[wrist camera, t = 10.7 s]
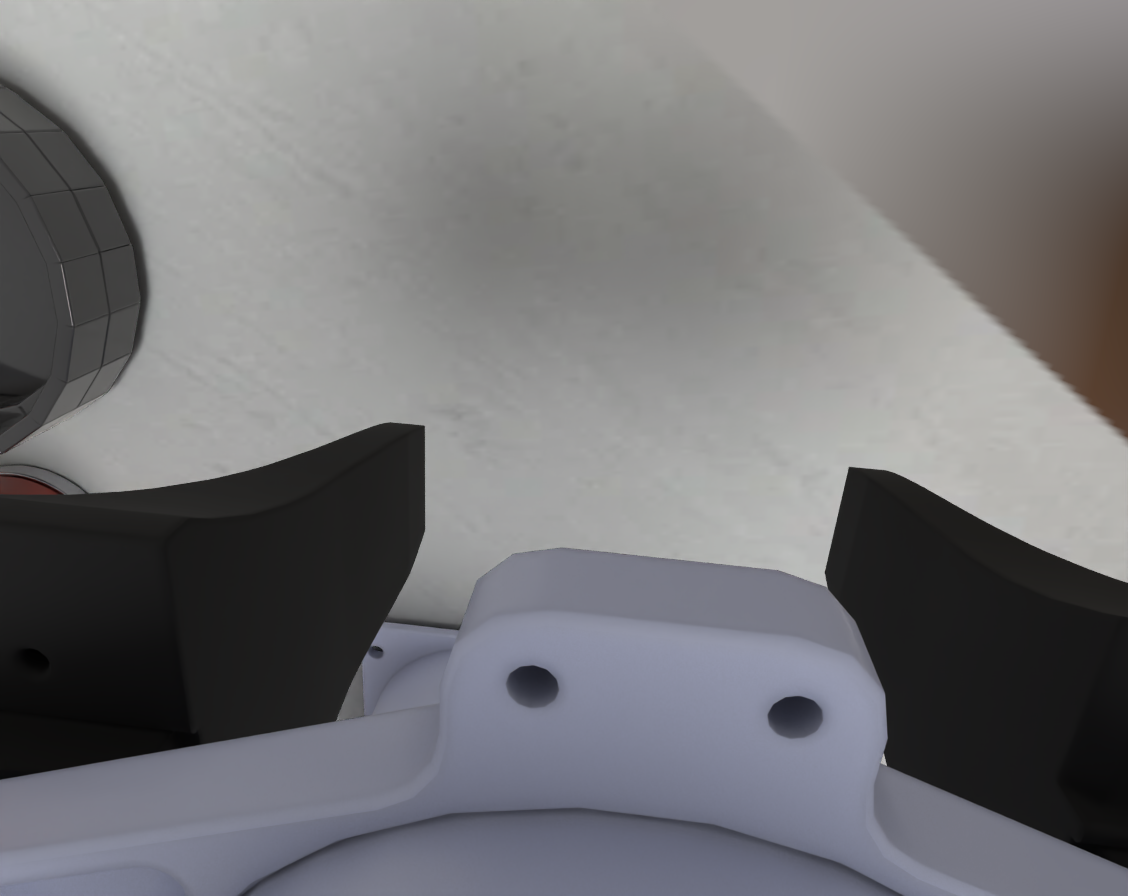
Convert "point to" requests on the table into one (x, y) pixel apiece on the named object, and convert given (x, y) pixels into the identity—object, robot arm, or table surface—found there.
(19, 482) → the tin can
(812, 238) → the table surface
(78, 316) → the pan
